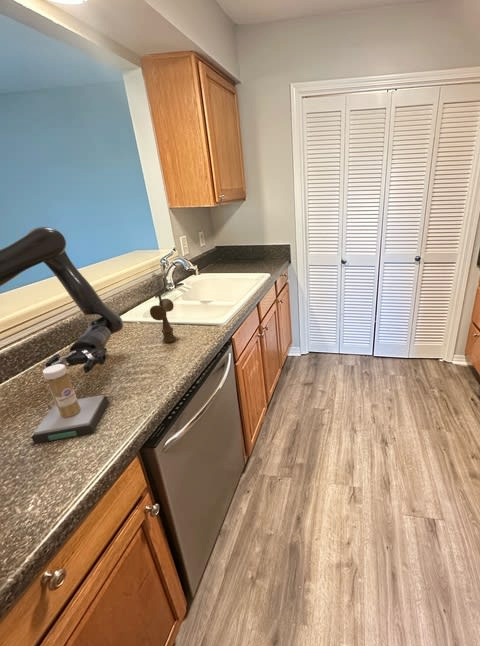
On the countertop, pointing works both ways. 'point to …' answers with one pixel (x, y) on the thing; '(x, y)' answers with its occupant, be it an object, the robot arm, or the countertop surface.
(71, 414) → the sprinkles bottle
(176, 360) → the countertop surface
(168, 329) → the kendama
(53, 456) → the countertop surface
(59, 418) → the kitchen scale
